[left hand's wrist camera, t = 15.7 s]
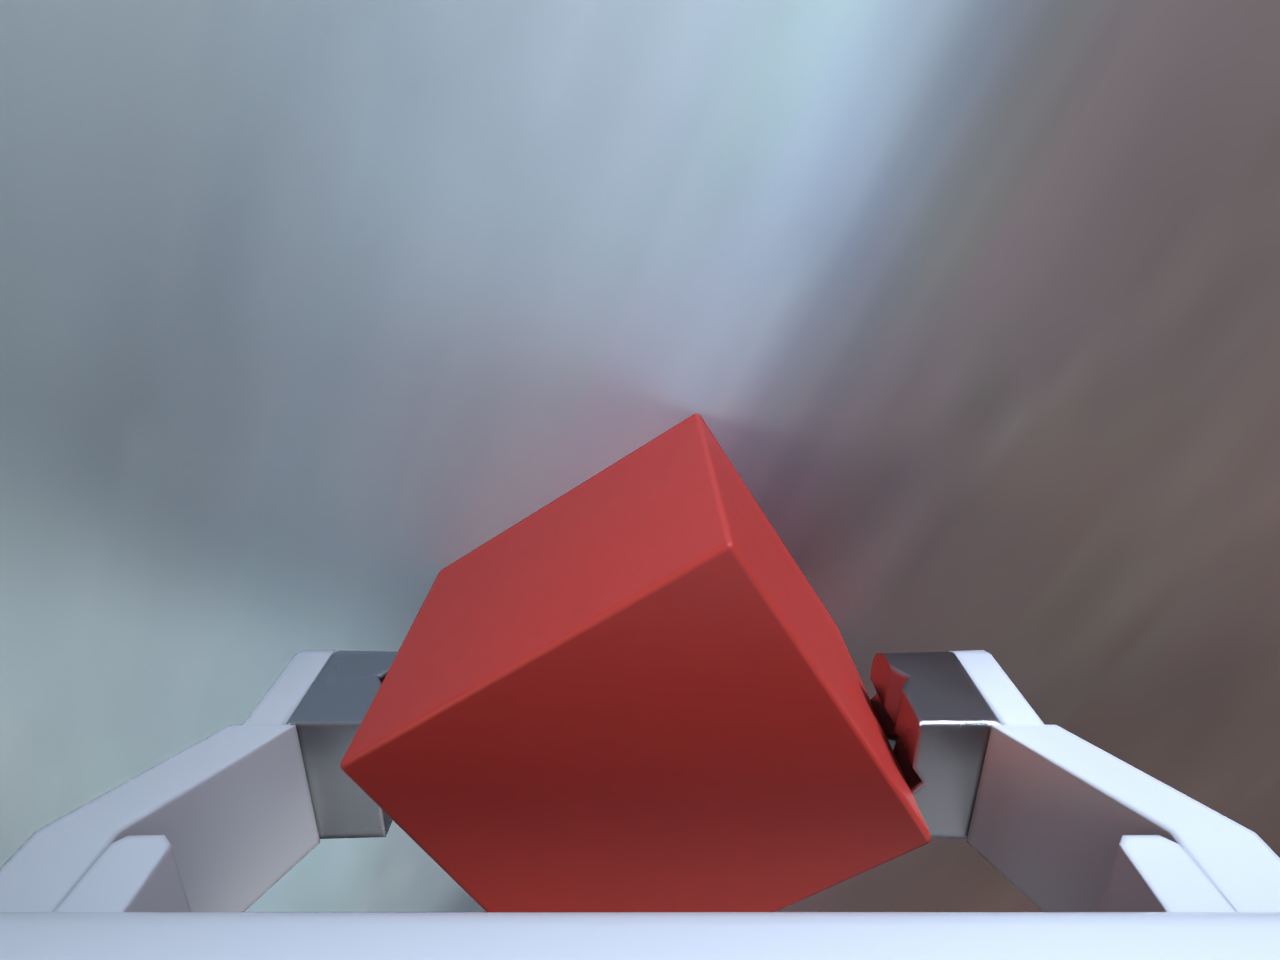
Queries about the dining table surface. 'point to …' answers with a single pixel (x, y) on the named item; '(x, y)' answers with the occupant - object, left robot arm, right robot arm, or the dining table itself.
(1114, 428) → the dining table surface
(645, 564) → the block
